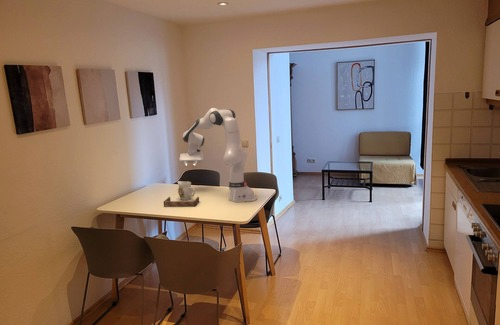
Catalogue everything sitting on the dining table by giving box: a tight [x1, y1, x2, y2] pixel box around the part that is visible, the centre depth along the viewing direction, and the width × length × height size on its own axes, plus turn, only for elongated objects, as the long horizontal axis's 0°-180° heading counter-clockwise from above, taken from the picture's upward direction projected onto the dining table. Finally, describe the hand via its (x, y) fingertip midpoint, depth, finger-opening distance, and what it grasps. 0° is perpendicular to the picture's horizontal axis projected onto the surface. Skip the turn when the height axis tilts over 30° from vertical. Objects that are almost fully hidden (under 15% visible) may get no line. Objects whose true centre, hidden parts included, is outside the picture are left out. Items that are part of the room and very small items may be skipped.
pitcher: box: [176, 180, 196, 201], centre depth 303 cm, size 11×18×14 cm, turn 56°
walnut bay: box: [163, 196, 200, 208], centre depth 291 cm, size 24×13×4 cm, turn 84°
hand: (190, 166), depth 317 cm, fingers open, 6 cm apart
